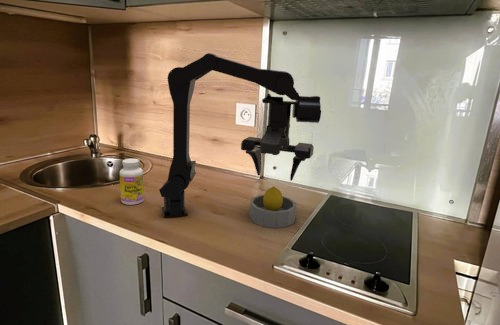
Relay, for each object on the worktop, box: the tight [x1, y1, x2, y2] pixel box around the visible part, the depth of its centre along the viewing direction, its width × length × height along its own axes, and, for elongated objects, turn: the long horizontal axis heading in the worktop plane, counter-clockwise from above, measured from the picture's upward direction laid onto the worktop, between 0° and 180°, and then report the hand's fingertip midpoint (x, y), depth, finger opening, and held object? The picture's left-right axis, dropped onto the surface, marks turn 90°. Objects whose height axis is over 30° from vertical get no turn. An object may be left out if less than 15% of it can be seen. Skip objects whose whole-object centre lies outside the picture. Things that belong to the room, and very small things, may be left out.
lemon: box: [263, 186, 284, 211], centre depth 90 cm, size 6×6×8 cm
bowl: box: [249, 194, 297, 229], centre depth 91 cm, size 13×13×4 cm
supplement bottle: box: [119, 158, 145, 206], centre depth 96 cm, size 7×7×13 cm
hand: (274, 177), depth 88 cm, fingers open, 9 cm apart
